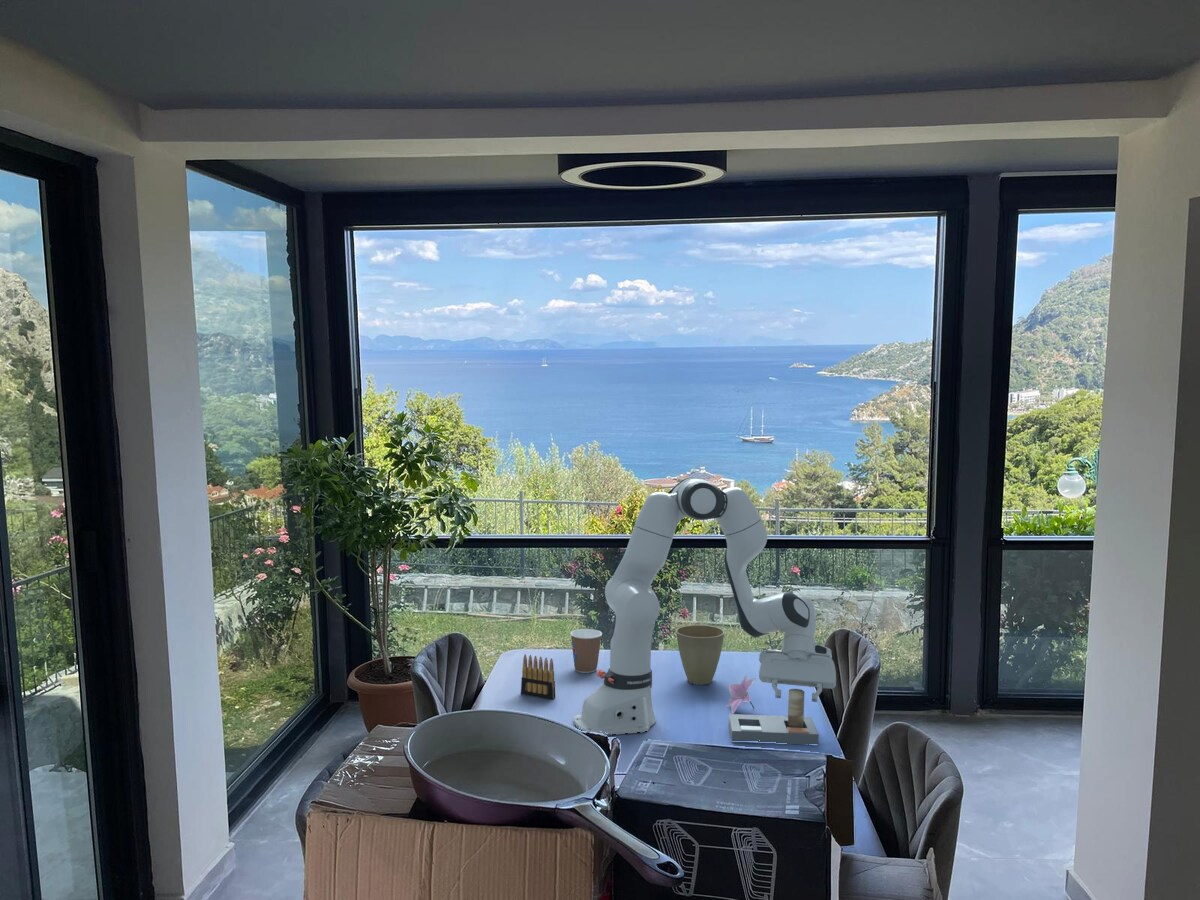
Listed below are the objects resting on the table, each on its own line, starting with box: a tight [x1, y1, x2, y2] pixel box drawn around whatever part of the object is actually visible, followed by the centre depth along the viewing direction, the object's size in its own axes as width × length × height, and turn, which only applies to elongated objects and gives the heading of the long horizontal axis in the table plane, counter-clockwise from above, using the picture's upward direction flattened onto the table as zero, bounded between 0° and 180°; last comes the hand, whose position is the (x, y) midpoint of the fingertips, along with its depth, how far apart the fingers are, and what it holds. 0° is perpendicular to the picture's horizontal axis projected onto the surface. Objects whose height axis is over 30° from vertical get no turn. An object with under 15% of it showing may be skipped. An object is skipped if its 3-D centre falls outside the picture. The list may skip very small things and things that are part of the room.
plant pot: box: [675, 624, 725, 686], centre depth 277 cm, size 15×15×16 cm
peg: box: [787, 688, 805, 728], centre depth 234 cm, size 4×4×12 cm
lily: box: [725, 674, 756, 714], centre depth 253 cm, size 12×12×10 cm
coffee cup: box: [569, 628, 603, 674], centre depth 287 cm, size 10×10×12 cm
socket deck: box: [728, 713, 820, 746], centre depth 234 cm, size 22×12×3 cm, turn 86°
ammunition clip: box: [520, 653, 556, 701], centre depth 262 cm, size 11×2×12 cm, turn 65°
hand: (796, 699), depth 235 cm, fingers open, 8 cm apart
